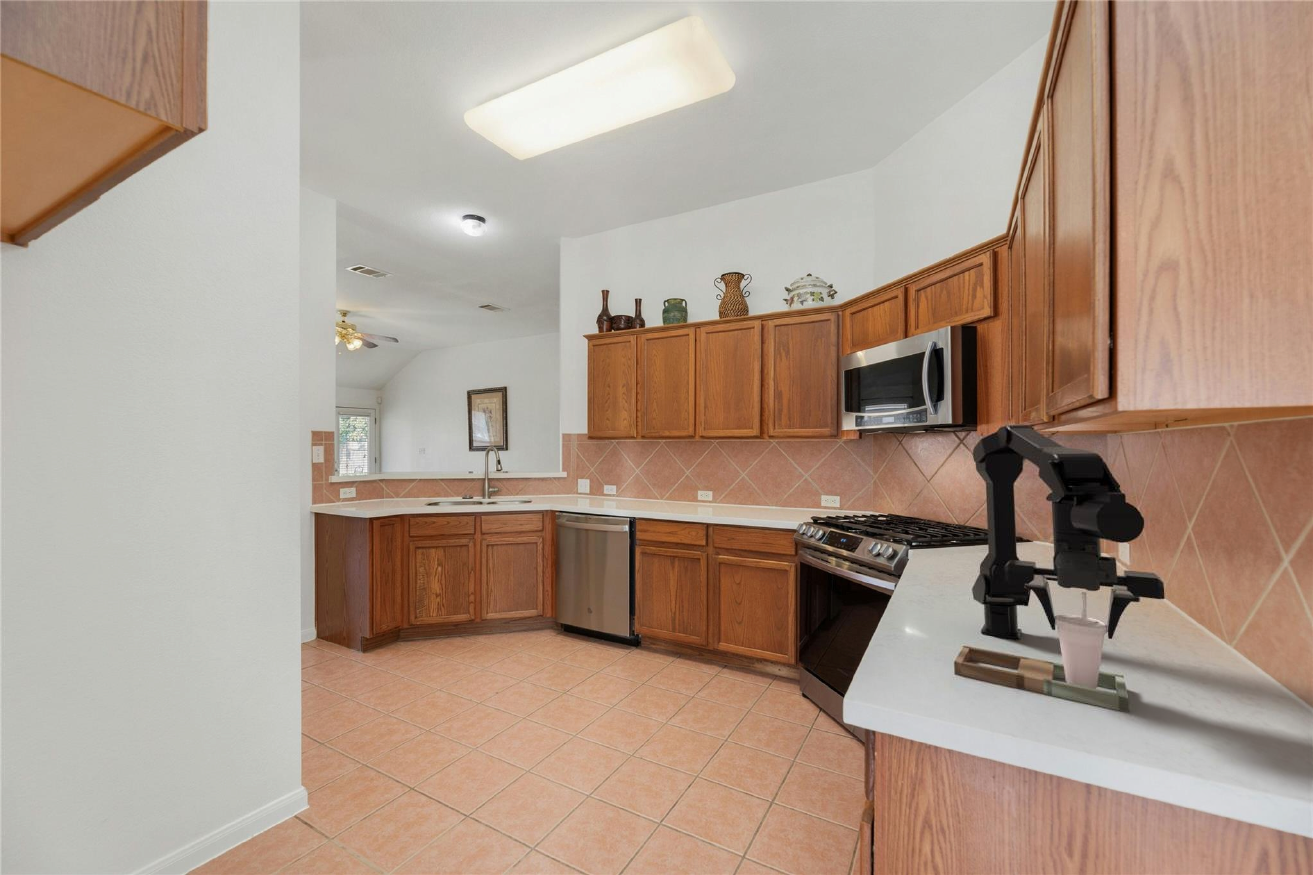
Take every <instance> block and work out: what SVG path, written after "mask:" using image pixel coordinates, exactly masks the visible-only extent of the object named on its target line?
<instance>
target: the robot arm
mask: <svg viewBox="0 0 1313 875" xmlns="http://www.w3.org/2000/svg"><path fill="white" fill-rule="evenodd" d="M972 458H973V461H974V463H975V469H976V472H977V473H978V475H979V476H980V477H981V479H982V480H983V481H984V483H985V492H986V493H985V494H986V498H985V499H986V520H987V521H986V522H987V543H988V545H987V547H988V552H987V554H986V556H985V557H984V559H983V560H982V561H981V562H980V564H979V574H978V576H977V578H976V579H975V581H974V584H973V585H972V588H971V592H972V597H973V598H972V599H973V600H975V601H976V602H977V603H979V604H981V605H983V611H984V613H983V614H984V615H983V616H984V624H983V626H982V628H981V630H980V633H981V634H984V635H988V636H995V637H1001V638H1007V639H1012V640H1020V638H1021V635H1022V633H1023V631H1022V630H1023V629H1022V628H1019V625H1018V624H1019V622H1018V606H1024V607H1029V603H1030V598H1031V597H1030V596H1031V592H1033V593H1034V595H1035V596H1036V597H1037V599H1038V601H1039V602H1040V605H1041V607H1042V609H1043V610H1044V614H1045V616H1046V619H1047V621H1048V623H1049V625H1050V628H1051V630H1053V631H1056V624H1055V616H1056V615H1055V611H1054V610H1055V609H1054V605H1053V600H1052V595H1051V589H1050V583H1049V581H1052V582H1057V585H1058V586H1059V587H1060V588H1063V589H1064V588H1065V589H1071V588H1073V589H1081V590H1082V589H1083V590H1086V591H1088V592H1098V591H1100V589H1101V587H1108V588H1110V596H1109V597H1110V598H1109V607H1108V617H1107V624H1106V625H1107V631H1108V632H1107V638H1108V640H1113V637H1114V634H1115V632H1116V629H1117V627H1118V624H1119V621H1120V619H1121V617H1122V615H1123V613H1124V611H1125V609H1126V608H1127V607H1128V606H1129V605H1130V604H1131V603H1140V602H1141V598H1146V599H1155V600H1165V586H1164V581H1163V580H1162V578H1161V577H1160V576H1159V575H1158V574H1156V573H1155V572H1149V571H1148V572H1147V571H1136V570H1127V569H1126V570H1125V569H1124V570H1123V575H1119V574H1118V573H1117V572H1118V569H1117V558H1116V557H1114V556H1113V557H1111V556H1104V555H1103V556H1102V546H1101V545H1102V544H1101V540H1105V541H1109V542H1115V543H1119V544H1121V543H1122V544H1124V543H1129V542H1132V541H1134V540H1136V539H1137V538H1138V537H1139V536H1140V535H1141V534H1142V533H1143V531H1144V528H1145V519H1144V517H1143V516H1142V512H1140V510H1139V509H1138V508H1137V507H1136V506H1135V505H1133V504H1131V503H1129V502H1127V496H1126V494H1125V493H1123V491H1122V490H1121V485H1120V484H1119V482H1118V481H1117V479H1116V478H1115V477H1114V475H1113V473H1112V472H1111V470H1110V468H1109V467H1108V465H1107V463H1106V462H1105V460H1104V459H1103V458H1102V456H1100V454H1098V453H1096V452H1093V451H1090V450H1086V449H1079V448H1072V447H1066V446H1063V445H1062V444H1060V443H1058V442H1056V441H1055V440H1052V439H1051V438H1049V437H1047V436H1045V435H1044V434H1041V433H1040V432H1038V431H1037V430H1035V428H1034V426H1032V425H1028V424H1006V425H1004V426H1001V427H999V428H998V429H997V430H996V431H995V432H993V433H991V434H989V435H986V436H984V437H982V438H981V439H980V440H979V441H978V442H977V443H976V444H975V446H974V447H973V449H972ZM1026 460H1027V461H1029V462H1030V463H1032V464H1033V465H1035V466H1036V467H1037V468H1038V475H1037V476H1038V478H1040V480H1042V482H1044V484H1046V486H1048V488H1049V489H1050V490H1051V491H1052V492H1049V493H1048V494H1047V495H1046V497H1045V500H1046V501H1048V502H1051V512H1052V513H1051V516H1052V534H1053V535H1052V538H1053V557H1052V561H1053V562H1052V563H1053V568H1047V567H1046V568H1045V567H1037V564H1036V561H1029V560H1021V559H1020V557H1018V553H1017V552H1018V550H1017V528H1016V506H1015V504H1016V503H1015V483H1016V481H1017V480H1018V478H1019V477H1020V475H1021V474H1022V473H1023V471H1024V461H1026Z"/></svg>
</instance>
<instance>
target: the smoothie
mask: <svg viewBox="0 0 1313 875" xmlns="http://www.w3.org/2000/svg"><path fill="white" fill-rule="evenodd" d="M1107 625H1108V624H1106V623H1105V622H1104V621H1101V620H1098V619H1095V618H1091V617H1087V592H1081V615H1075V614H1057V615H1055V626H1057V634H1058V639H1059V645H1060V652H1061V657H1062V664H1063V665H1064V671H1065V678H1066V679H1065V681H1066V683H1069V684H1074V685H1079V686H1084V687H1089V688H1094V689H1097V688H1098V686H1097V683H1098V676H1099V671H1100V669H1101V668H1100V667H1101V660H1102V656H1103V655H1102V654H1103V648H1104V641H1105V634H1108V628H1107Z"/></svg>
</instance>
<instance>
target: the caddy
mask: <svg viewBox="0 0 1313 875" xmlns="http://www.w3.org/2000/svg"><path fill="white" fill-rule="evenodd" d="M970 661H974V662H979V663H985V664H990V665H995V666H1000V667H1003V668H1004V667H1005V668H1009V669H1013V670H1017V672H1016V671H1010V670H1006V669H1001V668H996V667H991V666H987V665H981V664H976V663H971V662H970ZM953 666H954V667H953V668H954V670H953V672H954V673H953V674H954V675H958V676H961V677H962V676H963V677H967V678H971V679H972V678H973V679H976V680H979V681H980V680H981V681H985V682H990V683H993V684H994V683H995V684H998V685H1003V686H1006V687H1007V686H1008V687H1012V688H1017V689H1021V690H1026V691H1030V692H1033V693H1039V694H1044V695H1047V696H1053V697H1057V698H1061V699H1066V700H1071V701H1075V702H1080V703H1084V704H1089V705H1093V706H1097V707H1103V708H1107V709H1111V710H1116V711H1121V712H1125V713H1130V707H1129V706H1130V704H1129V696H1128V690H1127V685H1126V681H1125V676H1124V675H1123V674H1122V675H1121V674H1116V673H1110V672H1105V671H1100V670H1099V676H1098V683H1097V687H1103V688H1108V689H1112V690H1113V689H1114V690H1115V691H1116V692H1114V691H1113V692H1112V691H1108V690H1102V689H1097V688H1096V689H1094V688H1089V687H1084V686H1079V685H1074V684H1069V683H1068V682H1064V681H1059V680H1055V678H1058V679H1062V680H1066V678H1065V671H1064V665H1063V663H1060V662H1059V663H1058V662H1053V661H1049V660H1048V661H1047V660H1042V659H1037V658H1032V657H1026V656H1022V655H1016V654H1011V653H1004V652H999V651H994V650H988V649H984V648H978V647H973V646H967V645H963V646H962V648H961V649H960V651H959V652H958V655H957V656H956V658H955V659H954V661H953Z"/></svg>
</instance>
